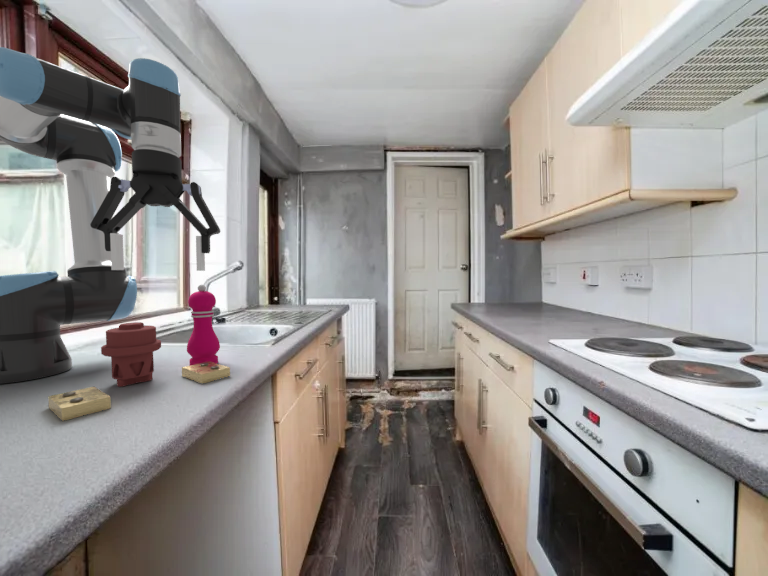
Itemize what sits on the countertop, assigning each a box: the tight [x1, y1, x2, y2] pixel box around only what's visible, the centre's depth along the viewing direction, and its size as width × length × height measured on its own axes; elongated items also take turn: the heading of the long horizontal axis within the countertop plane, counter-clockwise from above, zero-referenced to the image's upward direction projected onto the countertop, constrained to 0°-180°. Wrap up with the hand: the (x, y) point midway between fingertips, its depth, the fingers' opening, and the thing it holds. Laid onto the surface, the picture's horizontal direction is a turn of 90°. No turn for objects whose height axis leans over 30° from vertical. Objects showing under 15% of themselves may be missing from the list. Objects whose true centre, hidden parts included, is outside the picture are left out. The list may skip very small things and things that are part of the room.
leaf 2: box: [181, 362, 231, 385], centre depth 73 cm, size 9×6×2 cm, turn 55°
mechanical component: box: [100, 321, 162, 388], centre depth 70 cm, size 12×10×10 cm
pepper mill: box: [186, 284, 221, 366], centre depth 82 cm, size 7×7×20 cm
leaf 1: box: [47, 386, 112, 422], centre depth 56 cm, size 9×6×2 cm, turn 55°
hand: (160, 270), depth 62 cm, fingers open, 13 cm apart
